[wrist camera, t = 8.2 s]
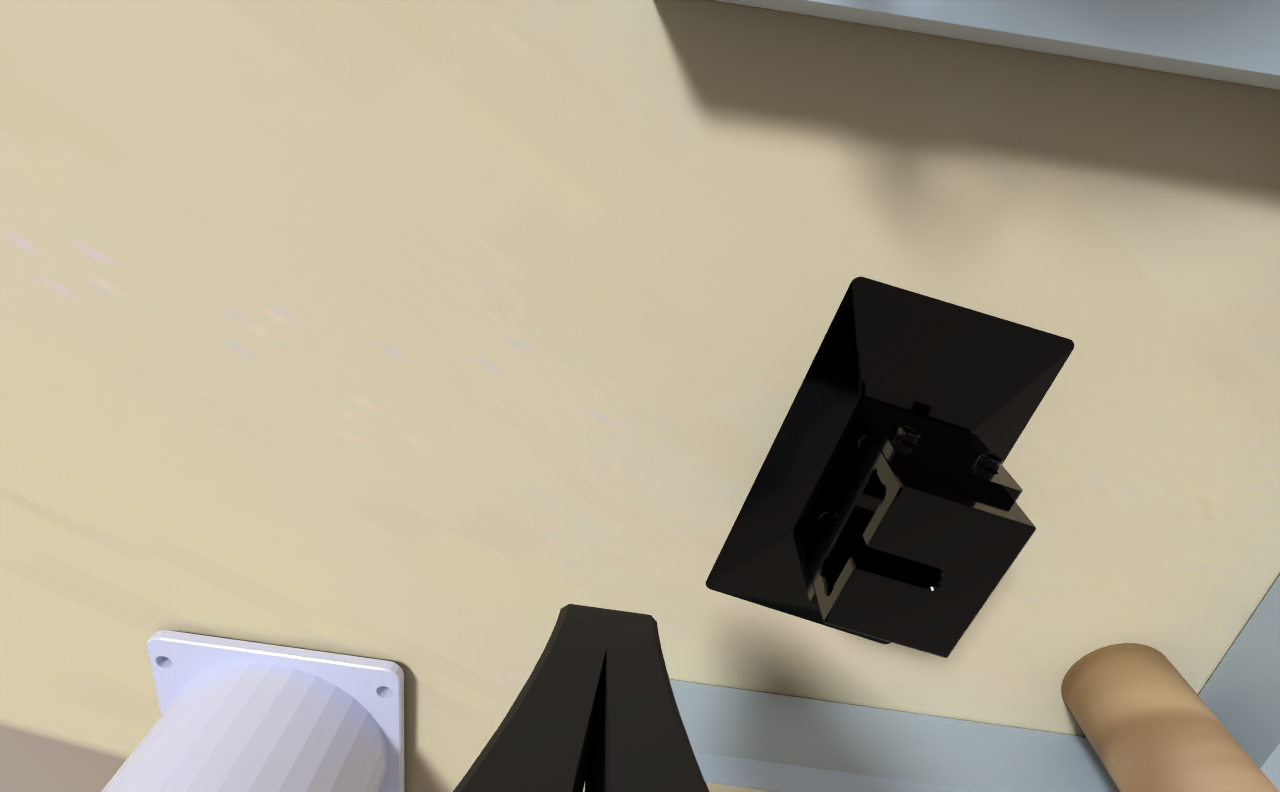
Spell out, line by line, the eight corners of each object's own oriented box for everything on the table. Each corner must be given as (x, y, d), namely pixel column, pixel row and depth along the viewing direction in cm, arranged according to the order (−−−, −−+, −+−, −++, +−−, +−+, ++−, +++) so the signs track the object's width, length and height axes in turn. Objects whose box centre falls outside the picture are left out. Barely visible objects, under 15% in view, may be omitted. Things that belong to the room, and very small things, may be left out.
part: (1143, 725, 22) (1263, 892, 18) (1045, 712, 22) (1141, 876, 18) (1190, 651, 21) (1334, 812, 16) (1086, 636, 21) (1201, 794, 16)
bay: (1181, 777, 23) (1237, 854, 21) (559, 691, 23) (547, 760, 20) (1674, 83, 14) (1864, 85, 12) (657, -80, 14) (654, -111, 11)
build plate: (845, 186, 16) (911, 225, 12) (1137, 288, 17) (1304, 361, 13) (665, 603, 22) (663, 739, 17) (893, 668, 22) (949, 815, 18)
